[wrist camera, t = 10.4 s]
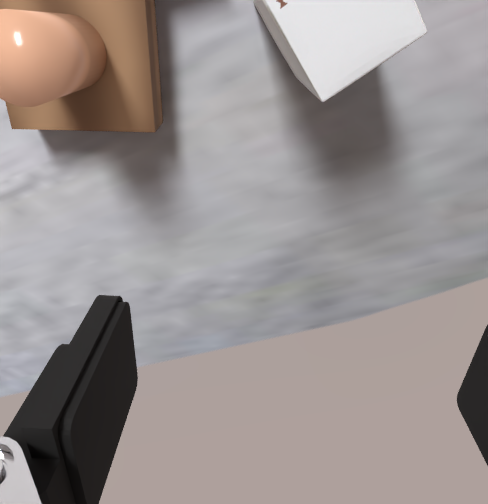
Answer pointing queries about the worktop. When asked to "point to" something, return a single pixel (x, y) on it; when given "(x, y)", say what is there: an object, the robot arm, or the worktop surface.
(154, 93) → the walnut plinth
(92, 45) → the glossy peach capsule
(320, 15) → the supplement box
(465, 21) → the worktop surface
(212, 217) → the worktop surface
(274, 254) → the worktop surface
